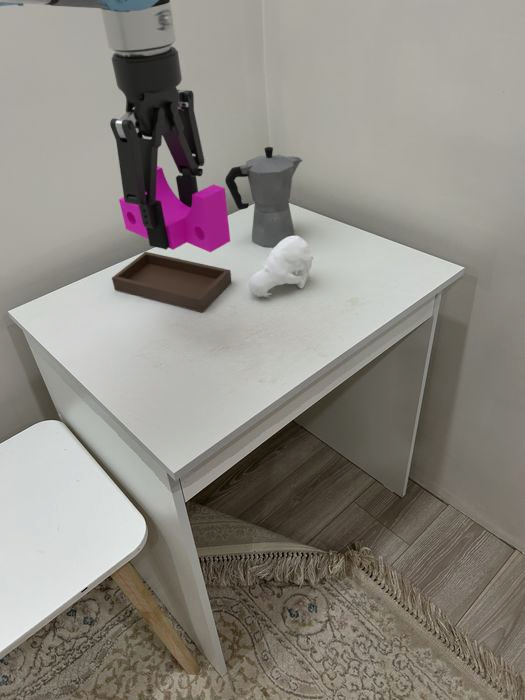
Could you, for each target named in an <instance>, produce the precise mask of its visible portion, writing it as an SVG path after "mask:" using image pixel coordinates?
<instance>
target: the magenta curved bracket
mask: <svg viewBox="0 0 525 700" xmlns="http://www.w3.org/2000/svg"><path fill="white" fill-rule="evenodd" d="M145 194H147V193H146V192H145ZM156 200H158V201H161V205H162V210H163V215H164V220H165V226H166V231H167V236H168V242H169V248H168V249H170V250H172V251H173V250H176V249H177V248H179V247H181V246H183V245H185V244H186V243H188V244H190V245H192V246H193V247H197V248H199V249H201V250H204V251H207V252H208V253H212V252H214V251H216V250H217V249H220V248H221V247H223V246H225V245H227V244H228V243H230V242H231V234H230V225H229V214H228V206H227V196H226V188H225V187H222V186H220V185H216V184H211V185H209V186H208V187H206V188H203V189H200V190H198V192H197V193H194V194H192V206H191V208H190V207H188V206H187V205H185V204H184V203H182V202H181V201H180V200H179V197H178V196H177V195H176V194H175V192H174V191H173V189H172V187H171V186H170V185H169V183H168V180H167V178H166V176H165V173H164V169H163V167H160V166H158V165H157V182H156ZM118 202H119V206H120V209H121V214H122V218H123V222H124V226H125V229H126V230H127V231H130V232H132V233H134V234H137V235H139V236H141V237H142V238H145V239H147V240H149V239H148V234H147V230H146V227H144V225H143V222H142V217H141V212H140V208H139V205H135V204H130V203H126V202H125V200H124V196H123V197H121V198H119V199H118Z"/></svg>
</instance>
